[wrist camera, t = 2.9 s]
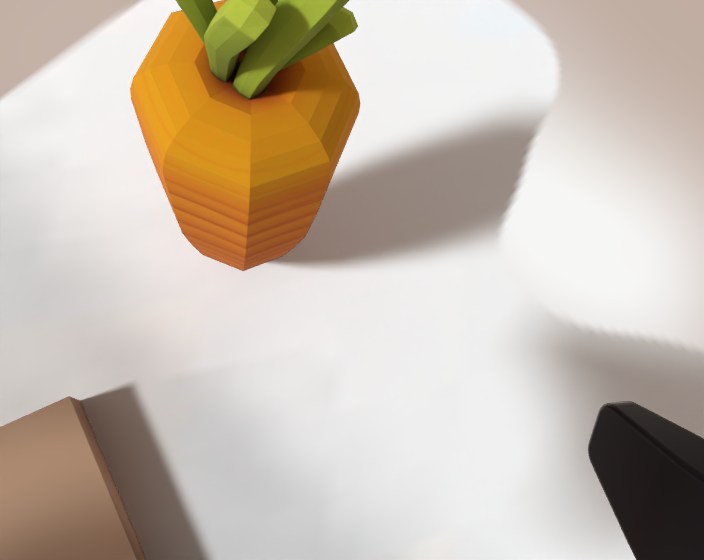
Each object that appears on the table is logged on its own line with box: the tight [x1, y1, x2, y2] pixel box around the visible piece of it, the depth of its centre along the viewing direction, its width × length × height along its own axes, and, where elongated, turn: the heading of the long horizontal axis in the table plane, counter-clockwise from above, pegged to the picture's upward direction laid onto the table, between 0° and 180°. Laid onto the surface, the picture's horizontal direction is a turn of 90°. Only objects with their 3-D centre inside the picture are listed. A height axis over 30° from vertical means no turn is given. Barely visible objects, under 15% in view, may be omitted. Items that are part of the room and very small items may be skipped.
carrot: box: [130, 0, 360, 271], centre depth 16 cm, size 5×5×15 cm
